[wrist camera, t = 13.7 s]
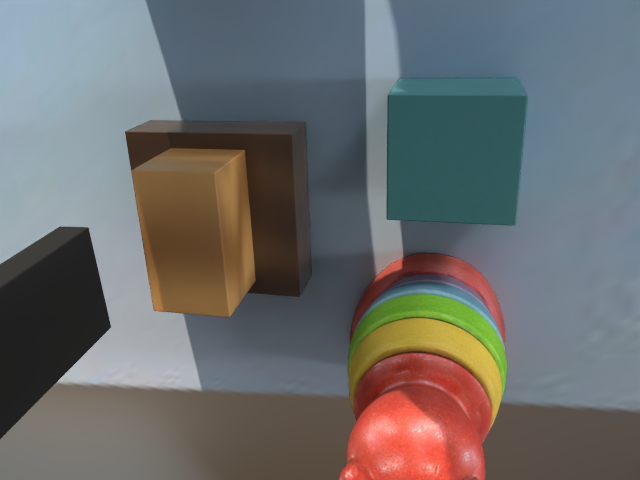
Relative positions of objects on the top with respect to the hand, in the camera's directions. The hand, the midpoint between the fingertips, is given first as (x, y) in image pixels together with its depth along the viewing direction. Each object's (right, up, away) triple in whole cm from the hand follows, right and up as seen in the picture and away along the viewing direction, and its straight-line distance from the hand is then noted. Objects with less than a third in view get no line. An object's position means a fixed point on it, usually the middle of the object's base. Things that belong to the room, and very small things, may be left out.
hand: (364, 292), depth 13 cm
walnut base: (-7, +4, +29) cm, 30 cm away
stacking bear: (+7, -4, +30) cm, 31 cm away
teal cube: (+7, +8, +24) cm, 26 cm away
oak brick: (-8, +3, +26) cm, 27 cm away
